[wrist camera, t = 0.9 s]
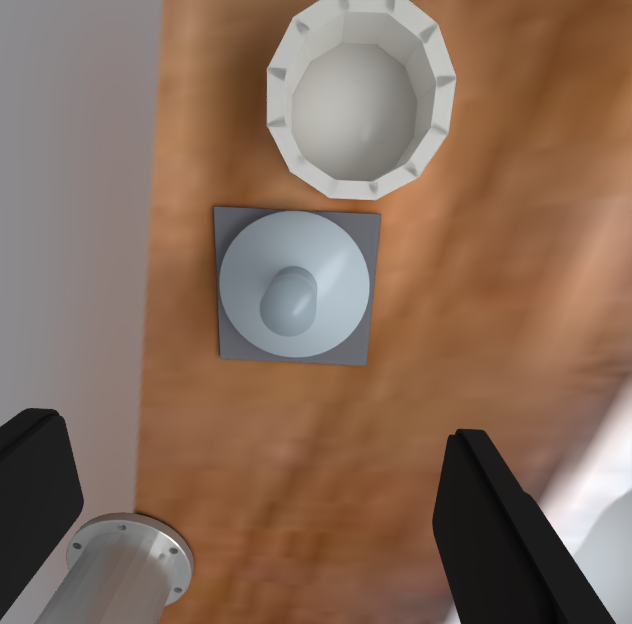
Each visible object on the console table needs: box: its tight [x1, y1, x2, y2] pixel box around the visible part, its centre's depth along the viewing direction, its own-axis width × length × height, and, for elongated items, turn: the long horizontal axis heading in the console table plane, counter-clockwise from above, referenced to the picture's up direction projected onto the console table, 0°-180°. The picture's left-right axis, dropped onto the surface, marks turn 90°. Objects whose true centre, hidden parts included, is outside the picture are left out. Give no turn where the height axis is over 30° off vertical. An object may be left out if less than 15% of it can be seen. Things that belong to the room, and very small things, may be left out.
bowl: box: [267, 0, 457, 201], centre depth 22 cm, size 10×10×5 cm
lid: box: [219, 211, 370, 357], centre depth 24 cm, size 11×11×6 cm
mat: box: [214, 206, 381, 366], centre depth 28 cm, size 12×12×1 cm
